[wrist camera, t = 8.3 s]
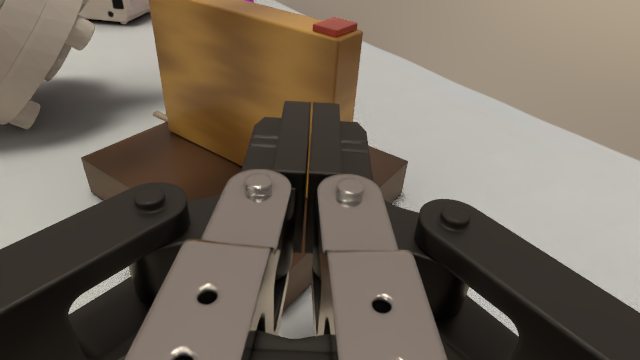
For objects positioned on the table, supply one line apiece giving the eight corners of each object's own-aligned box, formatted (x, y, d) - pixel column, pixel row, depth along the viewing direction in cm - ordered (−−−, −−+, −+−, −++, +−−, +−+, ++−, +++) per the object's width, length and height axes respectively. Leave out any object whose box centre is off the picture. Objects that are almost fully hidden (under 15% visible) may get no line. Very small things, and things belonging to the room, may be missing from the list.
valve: (199, 229, 34) (329, 79, 30) (-156, 107, 20) (5, -191, 17) (175, 154, 41) (278, 25, 37) (-100, 26, 27) (21, -195, 24)
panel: (35, 203, 21) (20, 164, 19) (246, 106, 30) (244, 76, 29) (262, 376, 14) (260, 335, 13) (437, 183, 24) (446, 149, 23)
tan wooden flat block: (168, 130, 23) (144, -19, 19) (192, 120, 24) (175, -24, 20) (325, 208, 18) (339, 32, 14) (346, 190, 19) (364, 23, 15)
